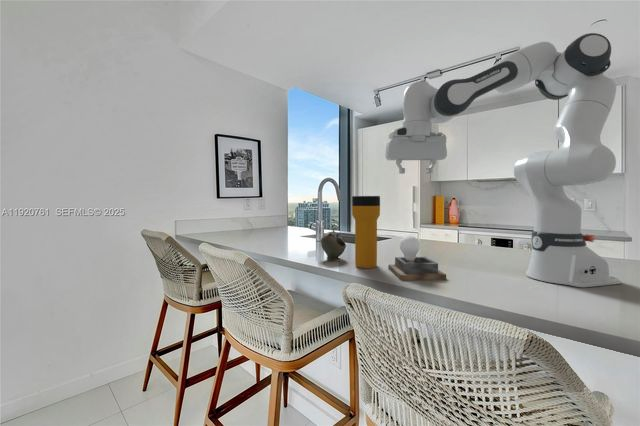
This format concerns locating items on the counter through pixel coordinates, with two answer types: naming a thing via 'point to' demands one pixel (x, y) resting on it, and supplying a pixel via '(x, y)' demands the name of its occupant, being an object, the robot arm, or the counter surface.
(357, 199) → the flashlight
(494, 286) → the counter surface
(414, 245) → the lightbulb
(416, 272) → the socket base
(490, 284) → the counter surface
